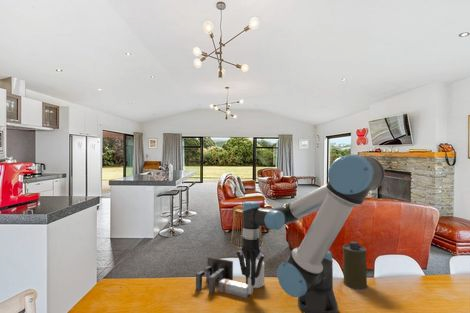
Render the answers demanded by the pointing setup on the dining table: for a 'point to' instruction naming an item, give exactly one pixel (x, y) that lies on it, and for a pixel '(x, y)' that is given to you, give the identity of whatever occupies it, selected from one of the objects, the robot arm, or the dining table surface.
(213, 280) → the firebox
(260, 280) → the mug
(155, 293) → the dining table surface
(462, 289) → the dining table surface
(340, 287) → the dining table surface
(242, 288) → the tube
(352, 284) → the canister
